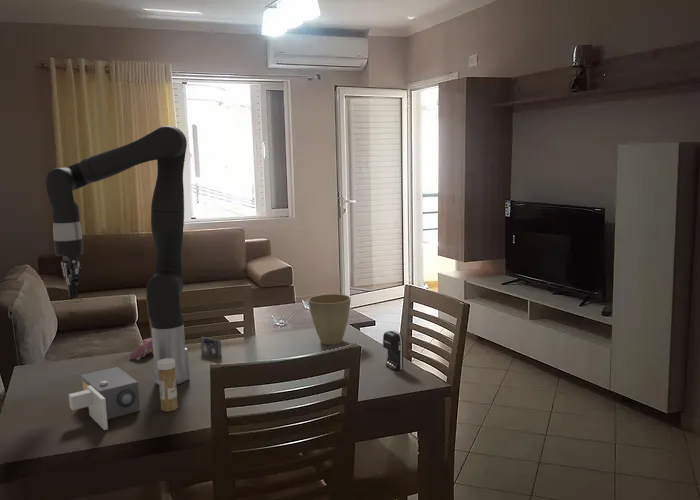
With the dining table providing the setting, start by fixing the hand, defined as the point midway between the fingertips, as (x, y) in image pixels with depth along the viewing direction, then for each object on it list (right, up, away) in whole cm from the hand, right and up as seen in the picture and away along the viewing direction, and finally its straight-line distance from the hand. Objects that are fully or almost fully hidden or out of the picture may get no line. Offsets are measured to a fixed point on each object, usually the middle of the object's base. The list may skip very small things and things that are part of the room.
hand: (73, 297), depth 184 cm
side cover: (+14, -30, -24) cm, 41 cm away
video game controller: (+10, -23, +32) cm, 40 cm away
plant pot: (+73, -19, +42) cm, 87 cm away
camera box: (+15, -29, -12) cm, 35 cm away
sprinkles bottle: (+32, -29, -14) cm, 45 cm away
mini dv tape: (+34, -22, +30) cm, 50 cm away
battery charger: (+94, -23, +14) cm, 97 cm away
